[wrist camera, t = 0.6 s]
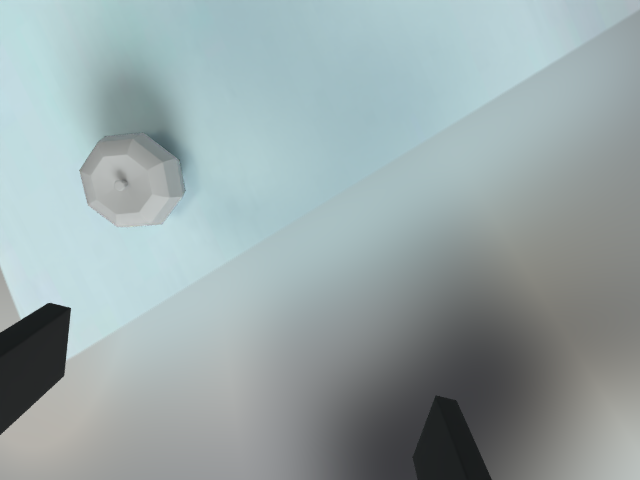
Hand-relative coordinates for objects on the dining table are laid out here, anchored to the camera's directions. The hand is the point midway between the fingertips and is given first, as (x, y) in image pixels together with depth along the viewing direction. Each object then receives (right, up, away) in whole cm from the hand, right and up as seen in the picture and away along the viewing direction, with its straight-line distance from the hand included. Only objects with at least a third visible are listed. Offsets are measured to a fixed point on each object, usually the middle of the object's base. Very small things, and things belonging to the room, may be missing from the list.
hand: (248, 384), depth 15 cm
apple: (-12, +11, +23) cm, 28 cm away
